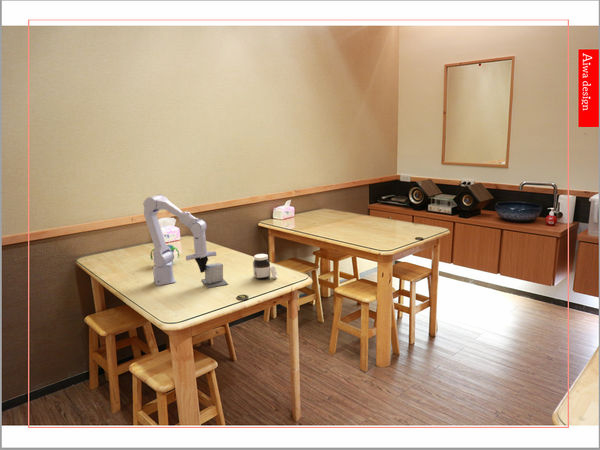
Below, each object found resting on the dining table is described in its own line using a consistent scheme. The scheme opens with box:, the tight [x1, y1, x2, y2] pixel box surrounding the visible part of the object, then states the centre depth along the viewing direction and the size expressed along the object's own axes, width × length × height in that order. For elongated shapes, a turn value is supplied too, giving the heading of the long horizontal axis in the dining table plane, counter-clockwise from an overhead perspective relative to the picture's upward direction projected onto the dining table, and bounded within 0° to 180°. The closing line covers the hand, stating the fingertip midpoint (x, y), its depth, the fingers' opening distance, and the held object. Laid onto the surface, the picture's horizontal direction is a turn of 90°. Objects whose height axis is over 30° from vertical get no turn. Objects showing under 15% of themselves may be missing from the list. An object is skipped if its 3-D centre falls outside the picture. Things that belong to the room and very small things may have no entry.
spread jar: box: [252, 253, 279, 281], centre depth 225 cm, size 12×11×12 cm
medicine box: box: [204, 262, 224, 283], centre depth 220 cm, size 8×4×9 cm, turn 134°
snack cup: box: [150, 244, 180, 264], centre depth 252 cm, size 16×10×10 cm
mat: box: [200, 278, 229, 289], centre depth 222 cm, size 10×13×1 cm
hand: (202, 271), depth 218 cm, fingers closed
